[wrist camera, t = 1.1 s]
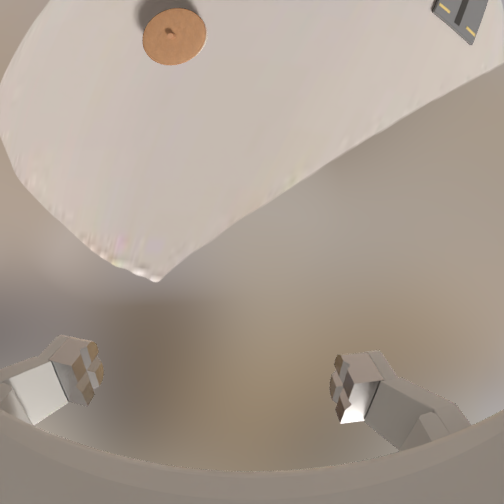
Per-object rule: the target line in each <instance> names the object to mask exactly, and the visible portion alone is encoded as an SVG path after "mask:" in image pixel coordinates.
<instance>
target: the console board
mask: <svg viewBox="0 0 504 504" xmlns="http://www.w3.org/2000/svg"><path fill="white" fill-rule="evenodd" d="M487 2H488V0H437V2H436V4H435V7H434V9H433V11H432V13H434V14H435V15H436V16H437V17H439V18H440V19H441V20H442V21H444V22H445V23H446V24H447V25H448V26H450V27H451V28H452V29H453V30H454V31H455V32H456V33H457V34H459V35H460V36H461V37H462V38H463V39H464V40H465V41H466V42H467V43H468V44H469V45H472V44H473V42H474V39H475V37H476V34H477V31H478V29H479V26H480V23H481V20H482V18H483V15H484V12H485V9H486V6H487Z"/></svg>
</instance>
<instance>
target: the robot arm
mask: <svg viewBox="0 0 504 504" xmlns="http://www.w3.org/2000/svg"><path fill="white" fill-rule="evenodd" d="M98 353H99V351H98V347H97V344H96V343H95V342H93V341H89V340H84V339H79V338H75V337H70V336H65V335H58V336H57V337H56V338H55V339H54V340H53V341H52V342H51V343H50V345H48V346H47V348H45V350H44V351H43V352H42V353H41V354H40V355H39V356H38V357H35V356H34V357H31V358H29V359H26V360H23V361H21V362H18V363H15V364H13V365H10V366H7V367H5V368H2V369H0V504H504V409H503V410H502V411H500V412H498V413H496V414H494V415H492V416H491V417H488V418H487V419H484V420H482V421H480V422H478V423H476V424H474V425H471V424H470V423H469V421H468V420H467V418H466V417H465V416H464V415H463V413H462V411H461V410H460V409H459V407H458V406H457V405H456V403H453V402H451V401H449V400H447V399H445V398H443V397H441V396H439V395H437V394H435V393H433V392H430V391H429V390H427V389H424V388H423V387H421V386H418V385H416V384H414V383H413V382H411V381H408V380H407V379H405V378H398V376H397V375H396V373H395V372H394V370H393V369H392V367H391V366H390V364H389V363H388V361H387V360H386V358H385V357H384V356H383V354H382V352H381V351H379V350H377V351H369V352H364V353H353V354H339V355H337V357H336V359H335V363H334V365H335V368H336V371H335V372H334V373H333V374H332V375H331V379H330V395H331V398H332V400H333V401H334V402H335V403H337V406H336V413H337V416H338V419H339V421H340V423H348V422H357V421H364V422H365V423H366V424H367V425H369V426H370V427H371V428H372V429H373V430H375V431H376V432H377V433H378V434H380V435H381V436H382V437H383V438H384V439H386V440H387V441H388V442H390V443H391V444H392V445H393V446H395V447H396V448H397V449H398V450H399V451H398V452H396V453H392V454H389V455H385V456H381V457H376V458H372V459H367V460H362V461H357V462H352V463H346V464H341V465H334V466H327V467H319V468H310V469H299V470H286V471H256V472H255V471H250V472H249V471H244V472H243V471H219V470H206V469H195V468H186V467H178V466H172V465H164V464H159V463H153V462H148V461H142V460H138V459H134V458H129V457H125V456H121V455H116V454H113V453H109V452H105V451H102V450H98V449H95V448H92V447H89V446H86V445H83V444H80V443H76V442H73V441H71V440H68V439H66V438H63V437H60V436H58V435H55V434H52V433H50V432H48V431H45V430H43V429H41V428H38V427H36V426H34V425H35V424H37V423H38V422H39V421H41V420H43V419H44V418H46V417H47V416H49V415H50V414H52V413H54V412H55V411H57V410H58V409H59V408H61V407H63V406H64V405H65V404H67V403H68V402H72V403H76V404H80V405H84V406H88V405H89V404H90V402H91V400H92V398H93V397H94V395H95V394H94V390H93V389H95V388H97V387H99V386H100V385H101V383H102V381H103V375H104V369H103V365H102V362H101V360H100V359H99V358H98V357H97V354H98Z"/></svg>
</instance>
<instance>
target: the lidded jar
mask: <svg viewBox="0 0 504 504" xmlns="http://www.w3.org/2000/svg"><path fill="white" fill-rule="evenodd" d="M206 41H207V28H206V25H205V23H204V22H203V20H202V19H201V18H200V17H199V16H198V15H197V14H196V13H194V12H192V11H190V10H188V9H183V8H173V9H168V10H165V11H163V12H161V13H159V14H157V15H156V16H155V17H153V18H152V19H151V20H150V22H149V23H148V24H147V26H146V28H145V30H144V33H143V47H144V50H145V52H146V53H147V55H148V56H149V57H150V58H151V59H152V60H154V61H155V62H157V63H160V64H163V65H177V64H181V63H184V62H187V61H189V60H191V59H192V58H194V57H195V56H197V55H198V54H199V53H200V52H201V50H202V49H203V48H204V46H205V44H206Z"/></svg>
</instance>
